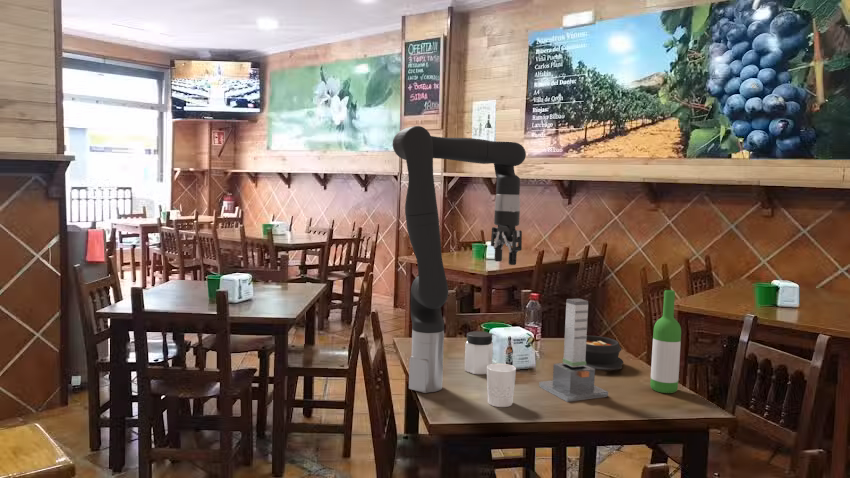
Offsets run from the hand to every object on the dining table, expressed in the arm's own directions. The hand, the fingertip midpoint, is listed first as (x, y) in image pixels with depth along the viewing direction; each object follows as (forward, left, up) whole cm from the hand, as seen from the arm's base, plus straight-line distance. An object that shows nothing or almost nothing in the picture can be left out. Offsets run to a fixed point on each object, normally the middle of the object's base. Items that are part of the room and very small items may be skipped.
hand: (505, 263), depth 192 cm
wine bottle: (+24, -42, -36) cm, 60 cm away
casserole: (+36, -15, -36) cm, 54 cm away
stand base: (+4, -22, -36) cm, 42 cm away
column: (+4, -22, -28) cm, 36 cm away
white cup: (-19, -11, -36) cm, 42 cm away
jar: (+3, +10, -36) cm, 38 cm away
